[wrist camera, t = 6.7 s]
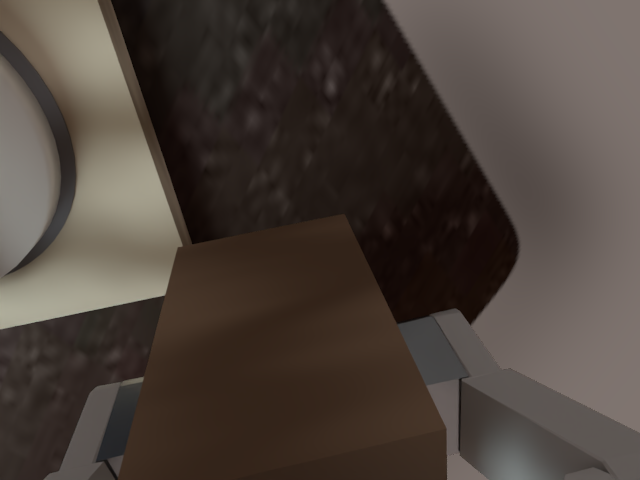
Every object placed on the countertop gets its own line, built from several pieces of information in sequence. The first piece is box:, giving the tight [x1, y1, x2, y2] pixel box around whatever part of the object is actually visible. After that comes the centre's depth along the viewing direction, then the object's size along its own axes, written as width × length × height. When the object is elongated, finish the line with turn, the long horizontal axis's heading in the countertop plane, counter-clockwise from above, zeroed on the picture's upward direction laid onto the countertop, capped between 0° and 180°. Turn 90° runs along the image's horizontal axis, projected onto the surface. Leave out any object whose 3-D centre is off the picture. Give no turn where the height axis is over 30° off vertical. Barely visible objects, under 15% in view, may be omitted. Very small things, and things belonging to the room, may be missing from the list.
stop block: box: [117, 214, 447, 480], centre depth 8 cm, size 4×4×6 cm
